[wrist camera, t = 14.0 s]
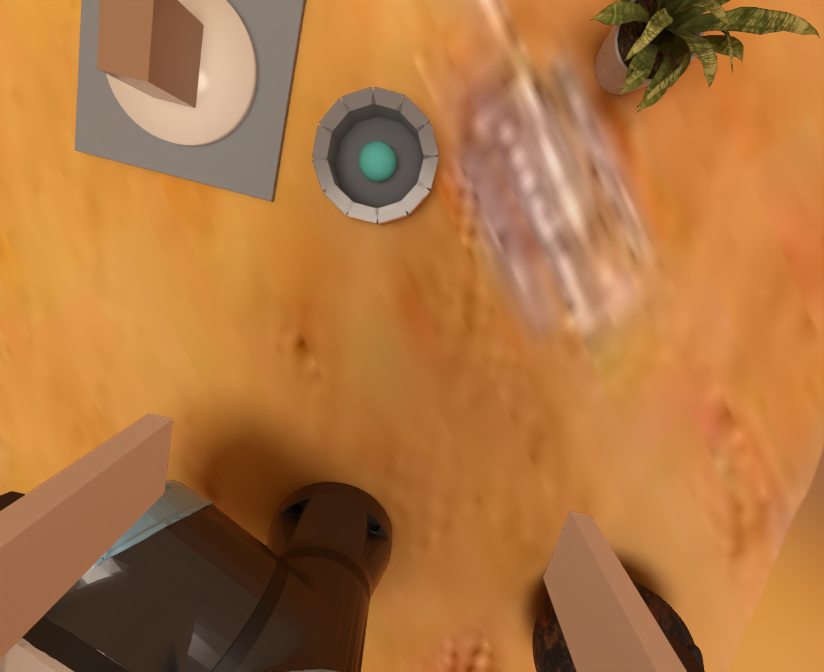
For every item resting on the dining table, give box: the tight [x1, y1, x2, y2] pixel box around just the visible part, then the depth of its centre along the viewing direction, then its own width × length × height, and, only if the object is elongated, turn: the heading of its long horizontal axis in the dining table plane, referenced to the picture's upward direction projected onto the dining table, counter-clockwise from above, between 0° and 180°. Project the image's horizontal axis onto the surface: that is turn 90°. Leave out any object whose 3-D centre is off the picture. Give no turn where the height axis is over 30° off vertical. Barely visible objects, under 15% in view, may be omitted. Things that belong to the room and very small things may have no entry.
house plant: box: [591, 0, 820, 113], centre depth 31 cm, size 14×14×16 cm
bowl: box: [312, 87, 439, 225], centre depth 39 cm, size 11×11×5 cm
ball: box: [359, 141, 397, 182], centre depth 39 cm, size 4×4×4 cm
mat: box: [75, 0, 306, 201], centre depth 39 cm, size 20×20×1 cm
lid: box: [97, 0, 258, 147], centre depth 35 cm, size 14×14×8 cm
